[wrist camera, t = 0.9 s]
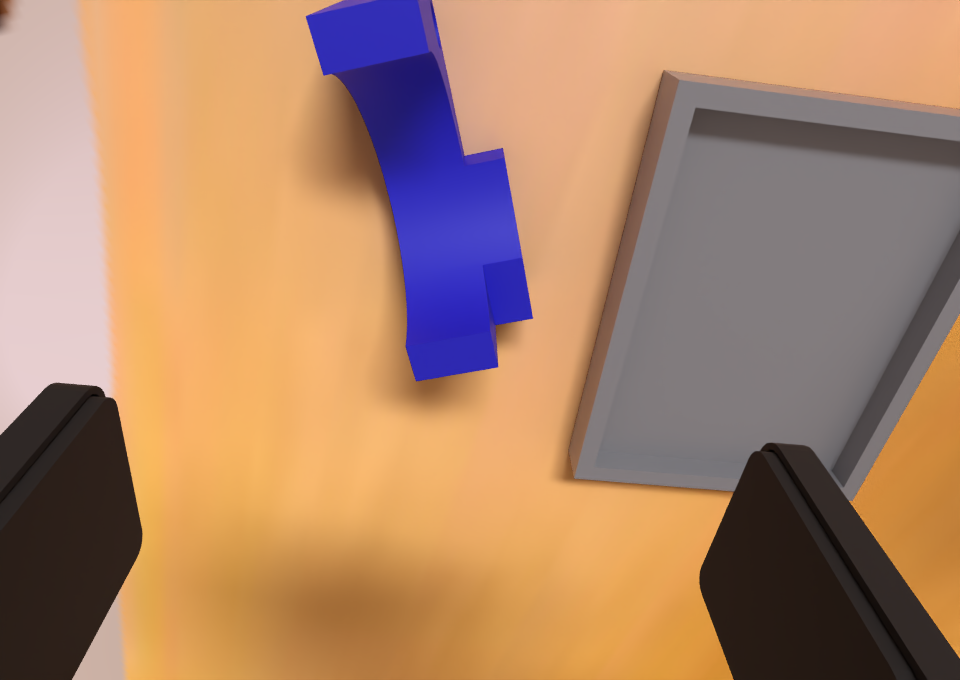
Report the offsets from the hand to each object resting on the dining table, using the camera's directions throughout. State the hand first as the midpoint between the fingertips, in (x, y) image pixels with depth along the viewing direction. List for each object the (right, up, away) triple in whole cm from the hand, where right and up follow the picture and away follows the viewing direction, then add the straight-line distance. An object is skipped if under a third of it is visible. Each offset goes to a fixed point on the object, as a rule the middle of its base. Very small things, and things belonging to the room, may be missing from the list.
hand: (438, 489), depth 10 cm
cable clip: (-1, +9, +16) cm, 18 cm away
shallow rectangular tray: (+13, +4, +19) cm, 23 cm away
